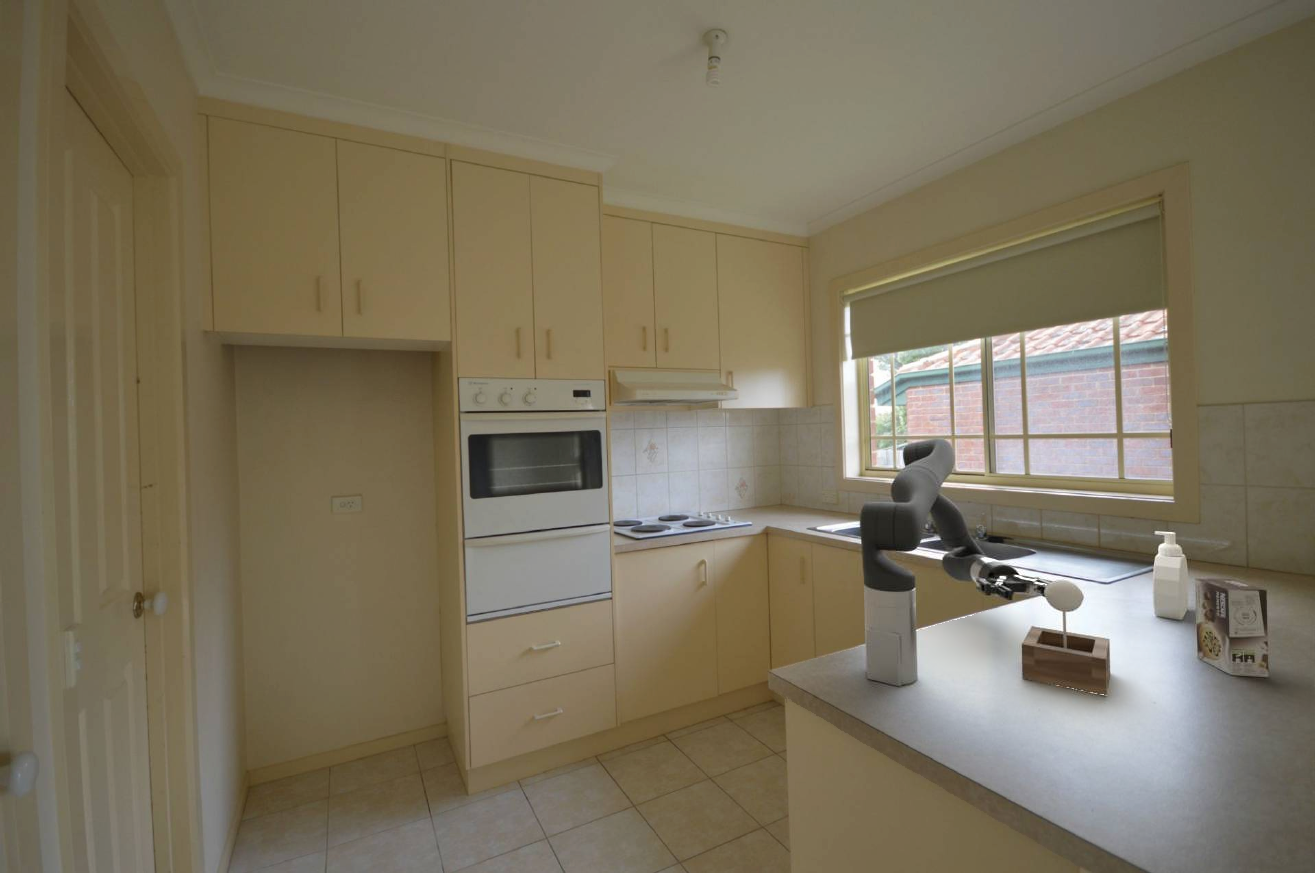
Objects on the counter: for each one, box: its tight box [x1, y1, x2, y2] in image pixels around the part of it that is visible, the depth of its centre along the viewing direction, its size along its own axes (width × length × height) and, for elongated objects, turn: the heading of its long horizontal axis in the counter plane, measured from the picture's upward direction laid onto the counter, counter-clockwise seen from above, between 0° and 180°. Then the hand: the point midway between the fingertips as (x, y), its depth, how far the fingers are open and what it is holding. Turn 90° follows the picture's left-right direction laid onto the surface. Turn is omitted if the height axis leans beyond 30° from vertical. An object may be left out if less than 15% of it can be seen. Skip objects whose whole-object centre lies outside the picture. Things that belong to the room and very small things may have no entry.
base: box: [1021, 625, 1111, 696], centre depth 110 cm, size 12×12×6 cm
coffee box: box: [1194, 578, 1270, 678], centre depth 112 cm, size 9×6×16 cm
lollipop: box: [1044, 579, 1085, 649], centre depth 110 cm, size 6×6×15 cm
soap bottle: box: [1152, 530, 1189, 621], centre depth 145 cm, size 16×5×20 cm, turn 133°
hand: (1032, 595), depth 121 cm, fingers open, 8 cm apart
